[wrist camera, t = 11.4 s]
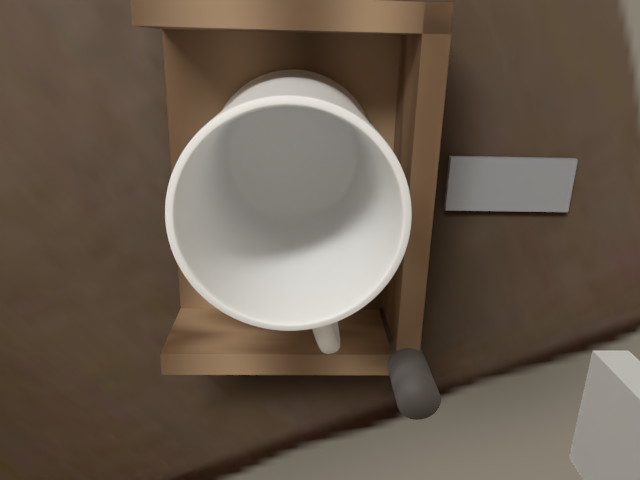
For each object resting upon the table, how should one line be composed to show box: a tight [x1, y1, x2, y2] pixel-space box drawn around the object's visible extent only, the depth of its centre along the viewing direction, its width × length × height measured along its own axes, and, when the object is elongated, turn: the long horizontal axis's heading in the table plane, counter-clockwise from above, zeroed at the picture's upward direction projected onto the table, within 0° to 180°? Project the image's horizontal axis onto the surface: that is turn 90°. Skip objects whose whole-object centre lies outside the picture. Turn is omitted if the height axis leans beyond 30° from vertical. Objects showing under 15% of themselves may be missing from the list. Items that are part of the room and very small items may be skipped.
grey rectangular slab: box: [444, 156, 578, 212], centre depth 30 cm, size 7×3×1 cm, turn 89°
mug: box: [165, 69, 412, 354], centre depth 24 cm, size 12×8×12 cm
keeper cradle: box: [130, 0, 454, 419], centre depth 26 cm, size 13×18×9 cm
